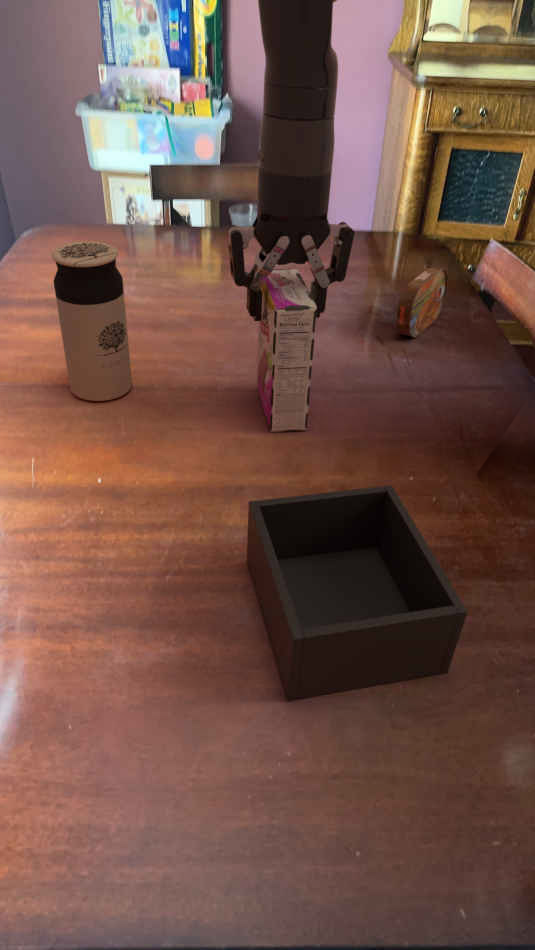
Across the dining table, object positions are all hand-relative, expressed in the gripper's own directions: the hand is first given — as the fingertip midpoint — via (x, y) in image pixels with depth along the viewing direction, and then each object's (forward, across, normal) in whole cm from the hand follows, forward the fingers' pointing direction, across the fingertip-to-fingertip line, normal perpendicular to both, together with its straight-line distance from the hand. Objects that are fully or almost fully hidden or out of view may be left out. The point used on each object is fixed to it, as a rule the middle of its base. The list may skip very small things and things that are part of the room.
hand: (285, 316), depth 79 cm
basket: (+13, -3, -34) cm, 36 cm away
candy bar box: (+13, 0, 0) cm, 13 cm away
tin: (+13, +28, +21) cm, 37 cm away
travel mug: (+13, -22, +9) cm, 27 cm away
